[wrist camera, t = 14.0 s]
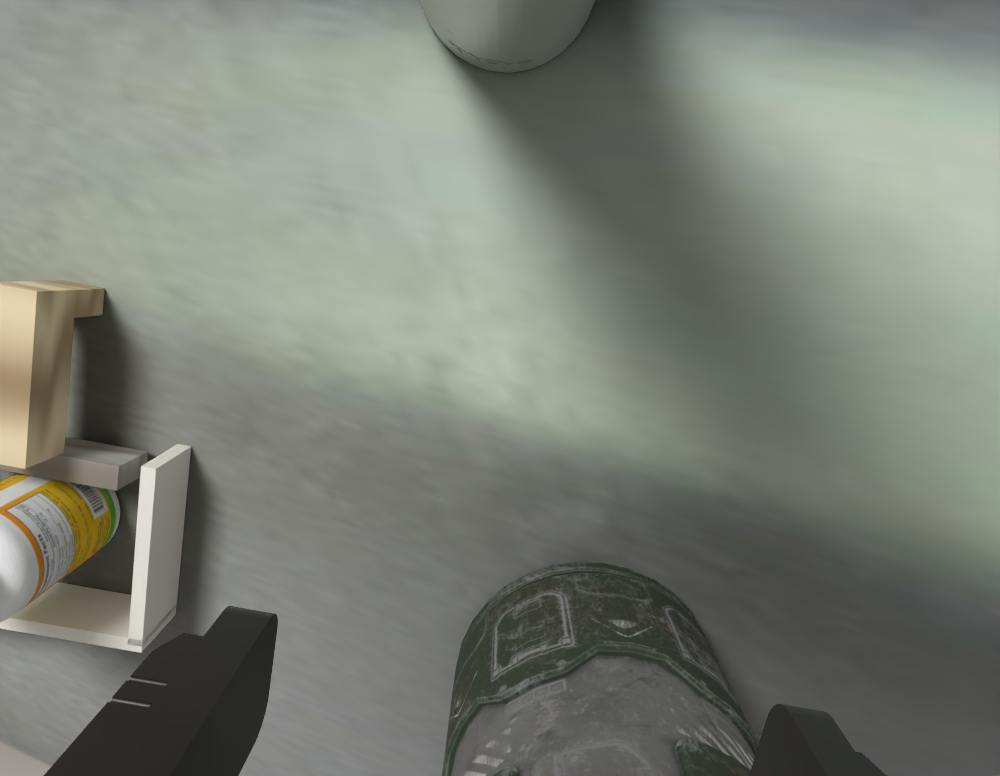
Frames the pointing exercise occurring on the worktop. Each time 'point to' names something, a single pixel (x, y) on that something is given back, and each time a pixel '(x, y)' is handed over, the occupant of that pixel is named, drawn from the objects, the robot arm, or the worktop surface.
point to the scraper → (50, 388)
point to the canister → (592, 683)
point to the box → (153, 574)
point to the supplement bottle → (48, 534)
